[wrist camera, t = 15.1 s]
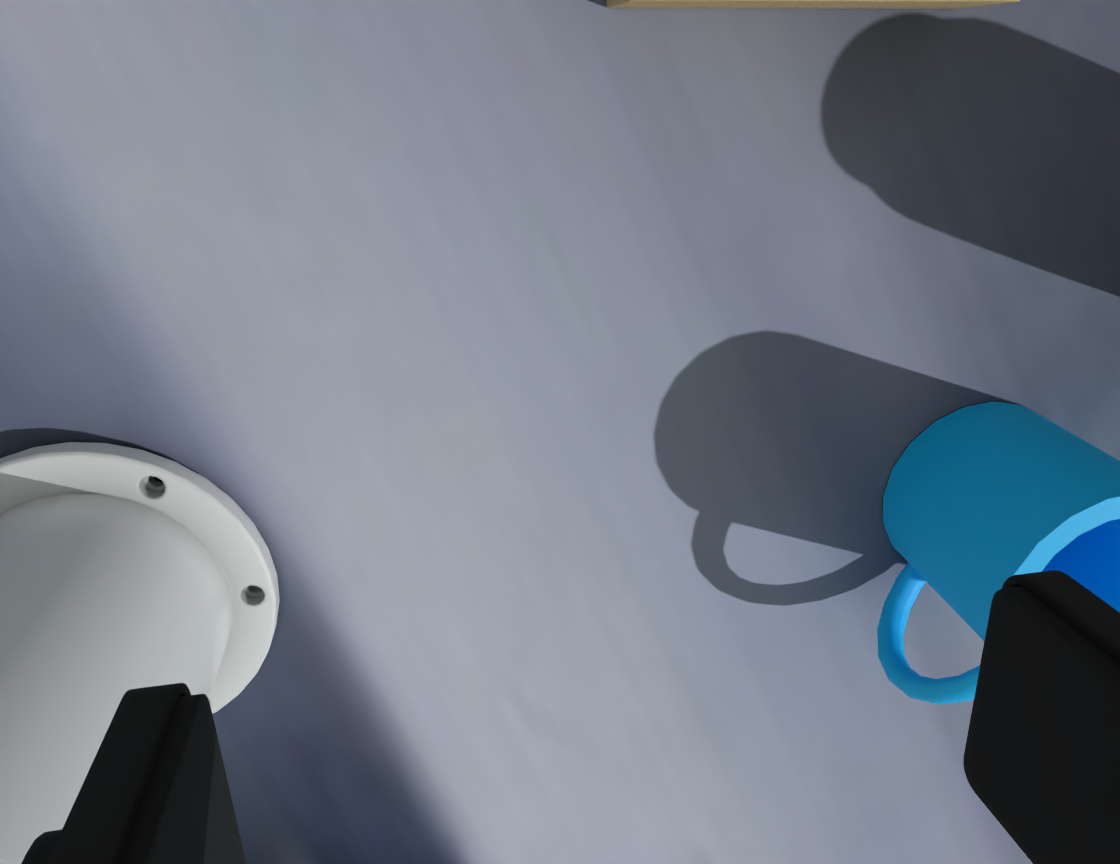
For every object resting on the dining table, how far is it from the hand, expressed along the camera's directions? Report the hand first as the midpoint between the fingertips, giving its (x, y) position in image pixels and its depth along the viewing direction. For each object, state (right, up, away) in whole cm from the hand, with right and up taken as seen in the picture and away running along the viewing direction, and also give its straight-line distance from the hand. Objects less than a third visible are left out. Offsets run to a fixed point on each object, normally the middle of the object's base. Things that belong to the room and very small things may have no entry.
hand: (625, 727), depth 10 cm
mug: (+16, 0, +27) cm, 32 cm away
